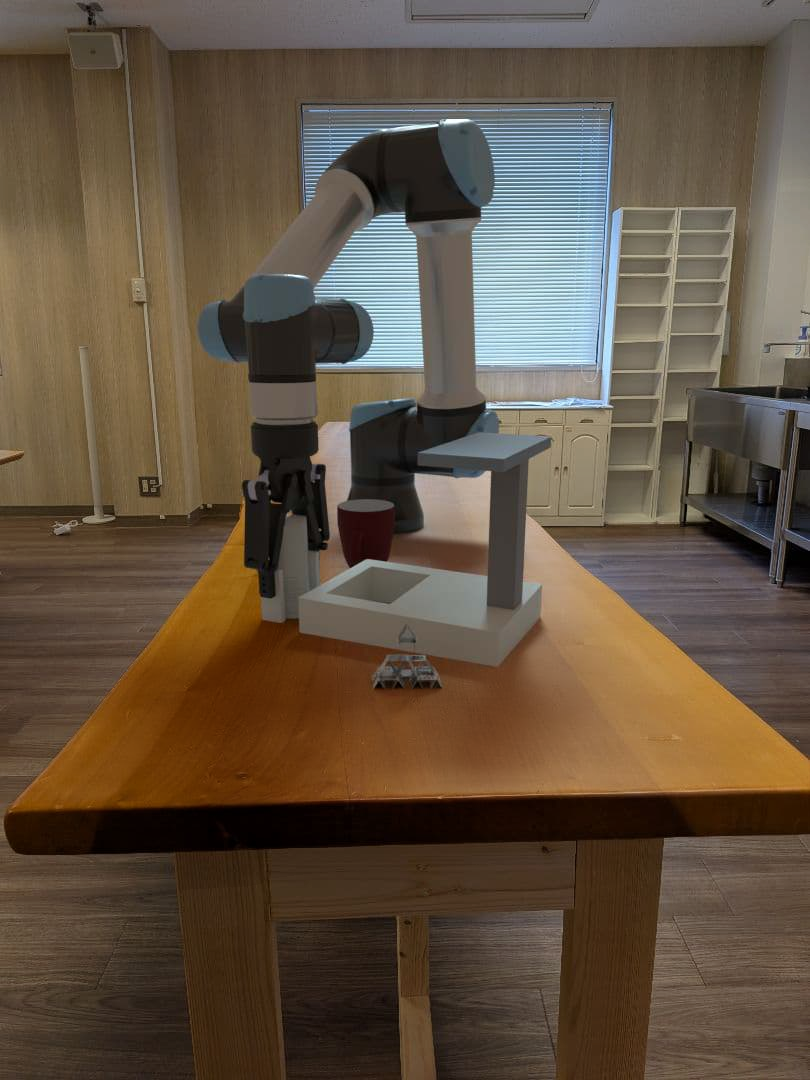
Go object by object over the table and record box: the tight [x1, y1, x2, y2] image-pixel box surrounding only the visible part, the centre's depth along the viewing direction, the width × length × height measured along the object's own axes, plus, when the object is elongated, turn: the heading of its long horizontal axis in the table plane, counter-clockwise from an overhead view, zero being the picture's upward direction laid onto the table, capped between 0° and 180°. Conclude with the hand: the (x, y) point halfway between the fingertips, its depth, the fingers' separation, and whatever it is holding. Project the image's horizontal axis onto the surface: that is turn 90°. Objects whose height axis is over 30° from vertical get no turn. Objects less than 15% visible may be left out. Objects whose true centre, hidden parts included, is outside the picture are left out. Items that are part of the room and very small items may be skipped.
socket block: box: [298, 559, 543, 668], centre depth 83 cm, size 16×23×5 cm
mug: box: [336, 499, 395, 569], centre depth 101 cm, size 10×8×10 cm
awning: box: [418, 432, 552, 610], centre depth 77 cm, size 17×8×17 cm, turn 155°
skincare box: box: [278, 513, 310, 620], centre depth 87 cm, size 6×4×12 cm
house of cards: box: [371, 623, 443, 690], centre depth 69 cm, size 9×9×8 cm
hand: (292, 610), depth 88 cm, fingers closed on skincare box, 7 cm apart
